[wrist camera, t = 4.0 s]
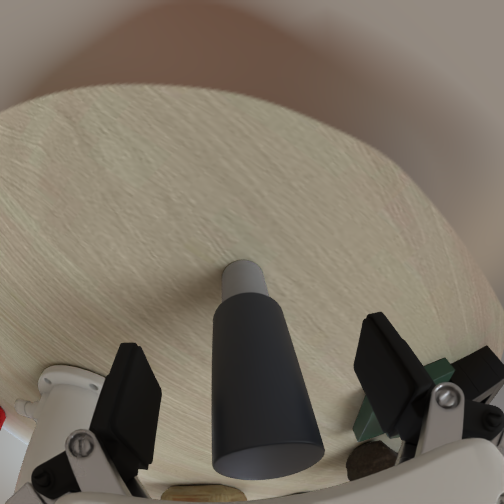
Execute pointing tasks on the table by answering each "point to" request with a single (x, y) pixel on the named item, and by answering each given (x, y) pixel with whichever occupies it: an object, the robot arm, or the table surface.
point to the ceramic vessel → (203, 494)
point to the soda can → (2, 417)
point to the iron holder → (479, 375)
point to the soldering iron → (257, 385)
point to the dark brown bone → (370, 460)
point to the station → (366, 418)
